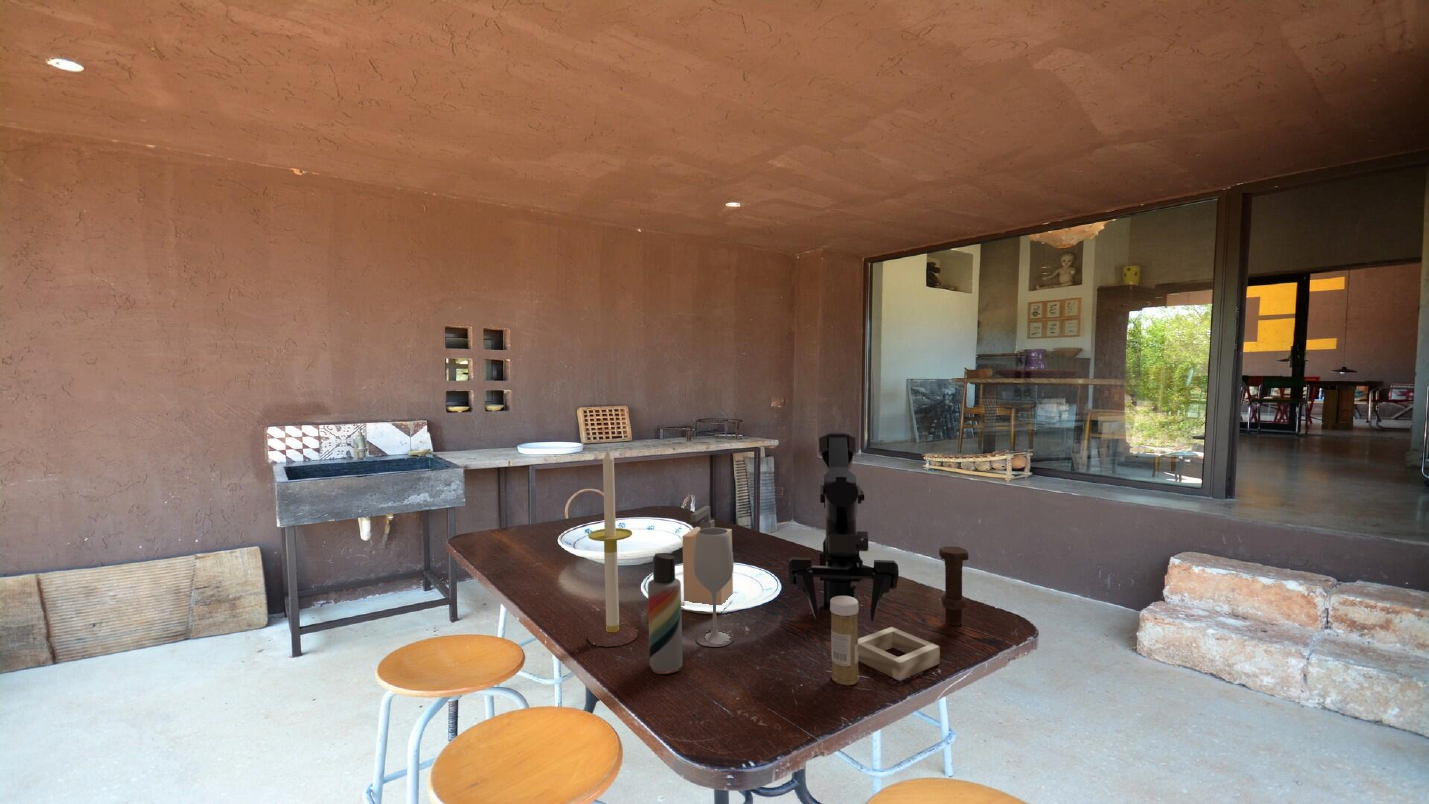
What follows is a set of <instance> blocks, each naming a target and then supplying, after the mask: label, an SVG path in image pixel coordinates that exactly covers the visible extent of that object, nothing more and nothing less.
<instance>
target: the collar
mask: <svg viewBox="0 0 1429 804" xmlns="http://www.w3.org/2000/svg"><path fill="white" fill-rule="evenodd" d="M892 648H893V649H894V650H895V649H896V650H897V651H900V652H902V653H904V654H903V655H901V656H896V655H894V654H893V653H890V652H888V651H887V650H889V649H892ZM940 648H941V647H940V645H938V644H935V643H933V642H930V641H927V640H925V639H922V638H921V637H917V636H914V635H913V634H911V633H908V632H905V631H903V630H900V629H898V628H896V627H893V626H890V627H887V628H884V629H881V630H880V631H876V632H873V633H870V634H868V635H865V636H862V637H860V638H859V637H858V662H860V663H863V664H864V665H867V666H869V667H870V668H873V669H875V670H877V671H878V672H881V673H883V674H885V675H886V676H888V677H891V678H893V679H895V680H897V681H899V682H900V681H903V680H906V679H907V678H910V677H912V676H914V675H917V674H919V673H922V672H923V671H926V670H927V669H930V668H932V667H935V666H937V665H939V664H940V660H941V658H940V657H941V655H940V652H941V649H940Z"/></svg>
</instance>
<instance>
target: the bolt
mask: <svg viewBox="0 0 1429 804" xmlns="http://www.w3.org/2000/svg"><path fill="white" fill-rule="evenodd" d="M938 551H939V552H938V555H939V556H940V559H941V560H944V567H945V568H944V569H945V570H944V575H945V578H944V579H945V580H944V581H945V582H944V583H945V584H944V585H945V590H944V591H945V593H943V594H941V604H942V606H943V607H944V610H945V623H946V624H947V623H948V625H949V626H960V624H961V625H962V624H963V610H964V609H965V608H967V599H966V597H965V596H964V595H963V565H964V561H968V560H969V551H968V549H966V548H964V547H960V546H952V545H951V546H947V545H946V546H942V547H940V548H939V550H938Z"/></svg>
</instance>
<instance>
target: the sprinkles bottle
mask: <svg viewBox="0 0 1429 804" xmlns="http://www.w3.org/2000/svg"><path fill="white" fill-rule="evenodd" d="M858 602H859V600H858V601H857V599H855V598H853V597H850V596H836V597H833V598H831V600H830V610H829V611H830V614H831V616H830V618H831V619H830V623H831V624H830V626H831V629H830V638H831V639H830V644H831V647H830V649H831V652H830V653H831V655H830V656H831V670H832V671H831V679H832V680H833V682H835V683H836V684H838V685H844V686H851V685H855V684H857V683H859V681H860V675H859V661H858V639H859V635H858V615H859V605H858Z"/></svg>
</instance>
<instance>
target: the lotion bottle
mask: <svg viewBox="0 0 1429 804" xmlns="http://www.w3.org/2000/svg"><path fill="white" fill-rule="evenodd" d="M675 560H676V558H675V555H673V554H671V553H668V552H657V553H654V556H653V557H652V575H653V577H652V578H653V579H650V580H649V582H648V584H647V604H648V607H647V608H648V609H647V611H648V644H649V645H648V646H649V647H648V648H649V650H648V651H649V652H648V653H649V667H650V666H651V667H652V669H654V670H659V671H672V670H676V669H678V668H679V667H681V666H682V667H683V630H682V629H683V628H682V625H683V623H682V618H683V617H682V583H681V581H680V579H679V578H676V561H675Z"/></svg>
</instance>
